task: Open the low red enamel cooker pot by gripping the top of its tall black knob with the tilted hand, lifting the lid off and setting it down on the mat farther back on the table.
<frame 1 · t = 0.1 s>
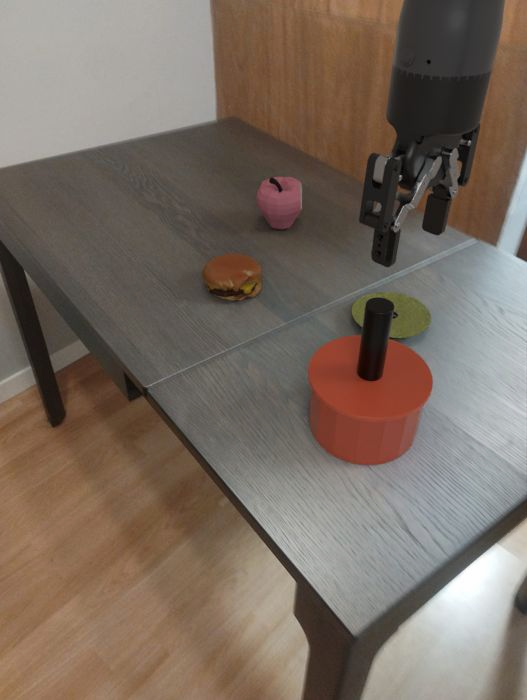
hand: (408, 246, 52), 22 cm above the table, tool pointing down, fingers open, 8 cm apart
cooker: (361, 423, 63), on the table
mat: (389, 324, 78), on the table
cooker lid: (369, 376, 59), point 7 cm above the table, touching cooker
apple: (280, 226, 103), on the table
burger: (234, 288, 86), on the table
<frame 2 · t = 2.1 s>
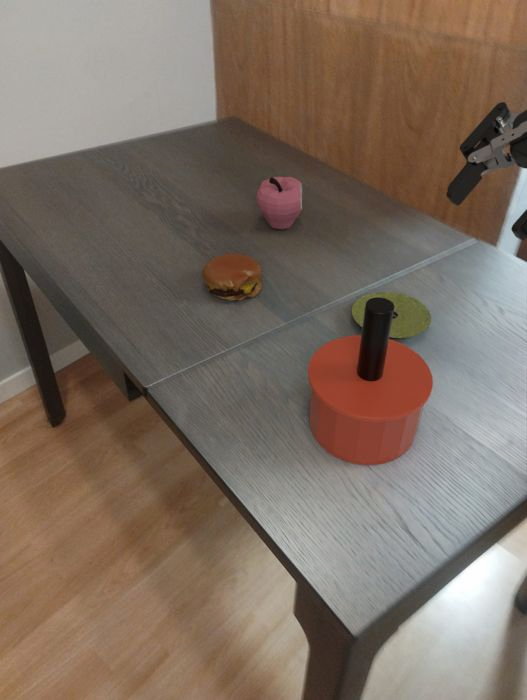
hand: (482, 217, 52), 24 cm above the table, tool tilted 45°, fingers open, 8 cm apart
nothing on the table moved.
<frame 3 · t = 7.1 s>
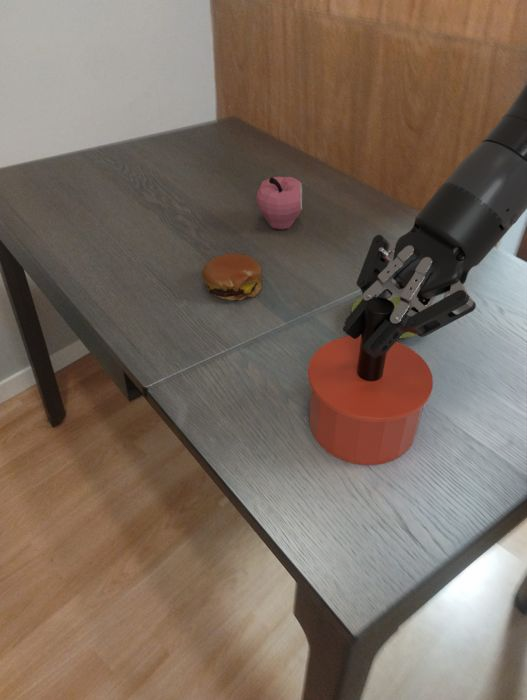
hand: (359, 343, 54), 13 cm above the table, tool tilted 45°, fingers closed on cooker lid, 3 cm apart
cooker lid: (369, 376, 59), point 8 cm above the table, touching cooker, gripper
everything else where it was.
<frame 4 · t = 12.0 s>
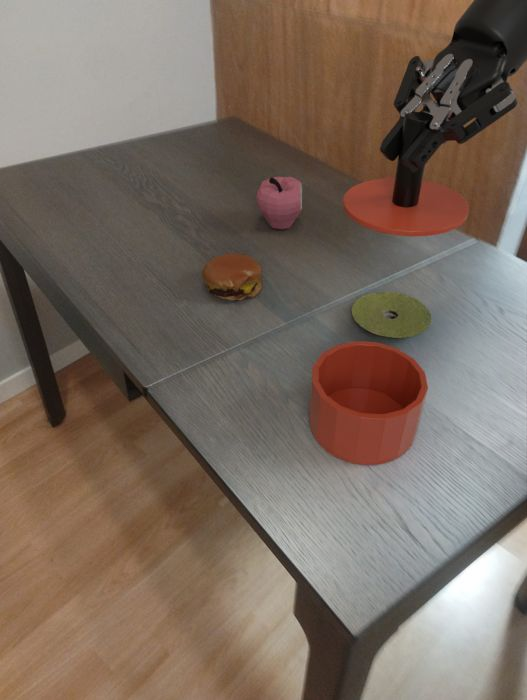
hand: (396, 160, 54), 27 cm above the table, tool tilted 45°, fingers closed on cooker lid, 3 cm apart
cooker lid: (404, 207, 59), point 22 cm above the table, touching gripper
everything else where it was.
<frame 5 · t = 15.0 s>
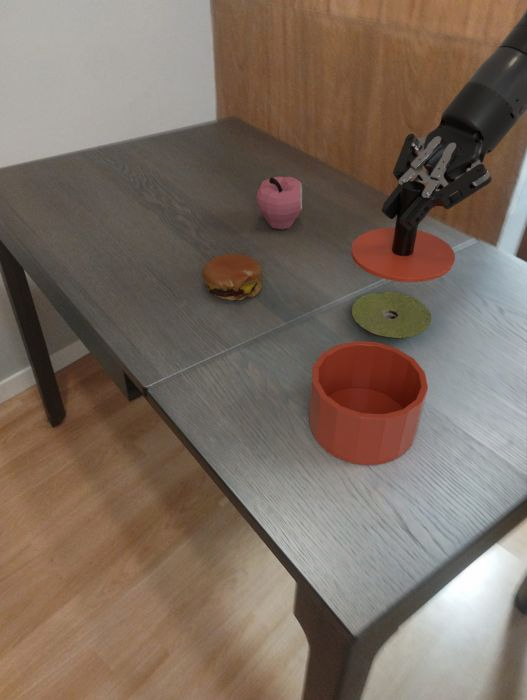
hand: (395, 220, 67), 17 cm above the table, tool tilted 45°, fingers closed on cooker lid, 3 cm apart
cooker lid: (401, 255, 71), point 11 cm above the table, touching gripper
everything else where it was.
when the fingers open (8 cm above the table, at t = 17.2 s): cooker lid stays where it is, resting on mat.
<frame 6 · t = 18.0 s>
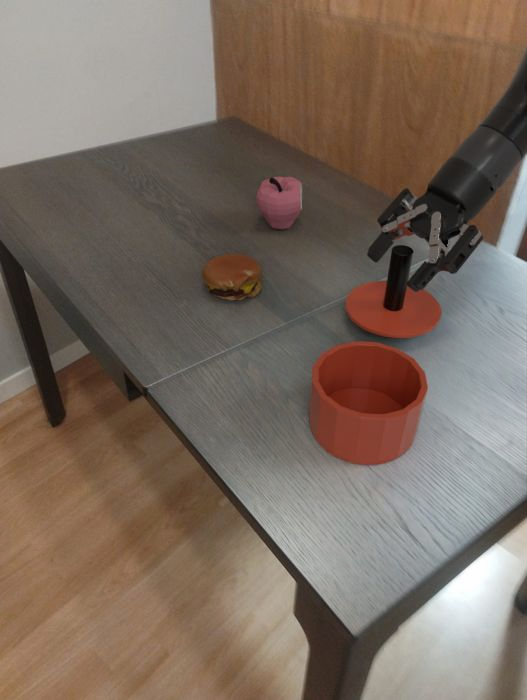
hand: (390, 273, 72), 9 cm above the table, tool tilted 45°, fingers open, 8 cm apart
mat: (389, 324, 78), on the table, touching cooker lid
cooker lid: (392, 309, 77), point 3 cm above the table, touching mat
everything else where it was.
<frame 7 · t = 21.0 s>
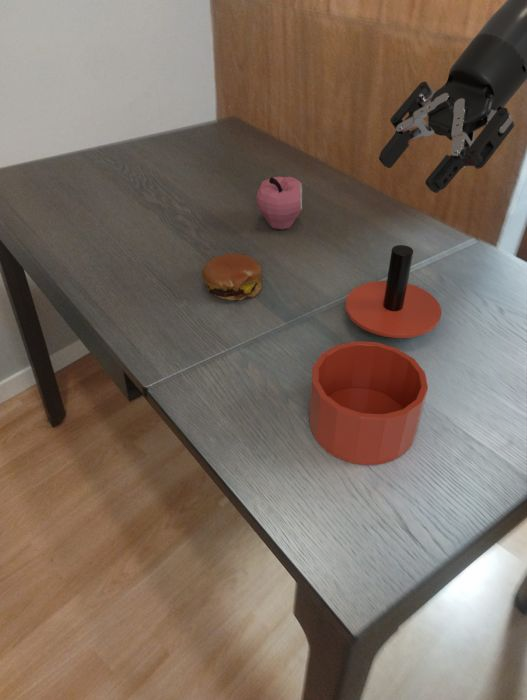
hand: (405, 175, 63), 22 cm above the table, tool tilted 45°, fingers open, 8 cm apart
nothing on the table moved.
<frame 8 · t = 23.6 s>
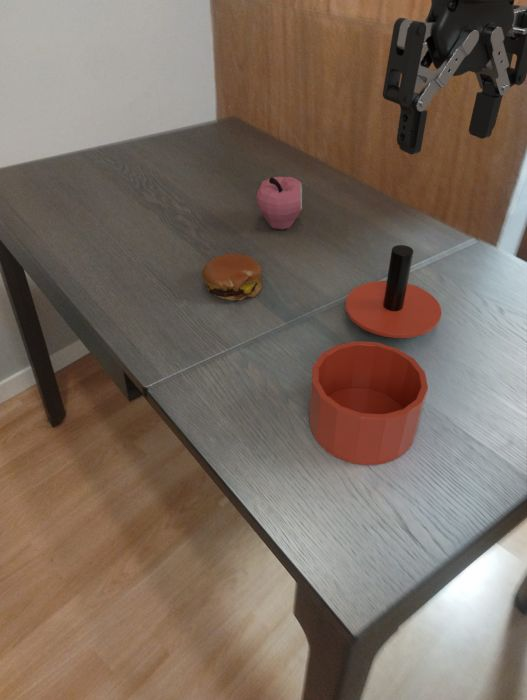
hand: (445, 143, 50), 30 cm above the table, tool pointing down, fingers open, 8 cm apart
nothing on the table moved.
at the end: cooker lid inside the target area on the mat (0.1 cm from its centre), point 2.8 cm above the mat's base; cooker lid tilted 0° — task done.
